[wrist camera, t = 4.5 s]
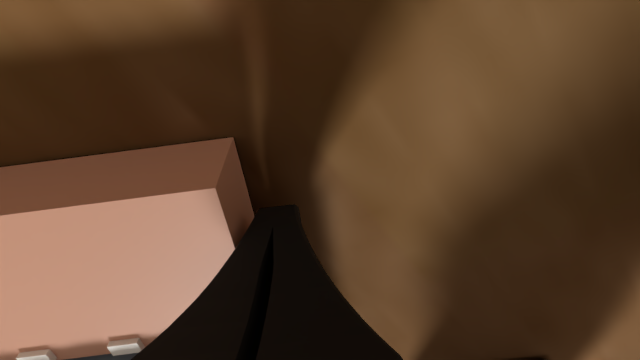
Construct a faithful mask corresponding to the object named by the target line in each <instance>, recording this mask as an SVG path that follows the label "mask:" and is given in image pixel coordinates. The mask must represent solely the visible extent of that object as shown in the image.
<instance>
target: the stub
mask: <svg viewBox="0 0 640 360" xmlns="http://www.w3.org/2000/svg"><path fill="white" fill-rule="evenodd" d="M254 217H255V216H254V213H253V209H252V205H251V202H250V198H249V194H248V190H247V187H246V183H245V179H244V175H243V172H242V168H241V164H240V160H239V157H238V153H237V149H236V146H235V142H234V138H233V137H231V138H223V139H215V140H207V141H200V142H192V143H184V144H176V145H169V146H161V147H153V148H145V149H138V150H130V151H122V152H115V153H107V154H99V155H91V156H84V157H76V158H68V159H60V160H53V161H45V162H37V163H29V164H22V165H14V166H6V167H0V360H64V359H72V358H80V357H88V356H96V355H104V354H112V355H113V356H116V355H124V354H132V353H139V352H140V351H141V350H143V349H144V348H145V347H146V346H147V345H149V344H150V343H151V342H152V341H153V340H154V339H156V338H157V337H158V336H159V335H160V334H161V333H162V332H163V331H165V330H166V329H167V328H168V327H169V326H170V325H171V324H172V323H173V322H174V321H175V320H176V319H177V318H178V317H179V316H180V315H181V314H182V313H183V312H184V311H185V310H186V309H187V308H188V307H189V306H190V305H191V304H192V303H193V302H194V301H195V300H196V298H197V297H198V296H199V295H200V294H201V293H202V292H203V290H204V289H205V288H206V287H207V286H208V285H209V283H210V282H211V281H212V280H213V278H214V277H215V276H216V275H217V273H218V272H219V271H220V269H221V268H222V266H223V265H224V264H225V262H226V261H227V260H228V258H229V257H230V255H231V254H232V253H233V251H234V250H235V248H236V246H237V245H238V243H239V242H240V240H241V239H242V237H243V236H244V234H245V232H246V231H247V229H248V227H249V226H250V224H251V222H252V220H253V219H254Z"/></svg>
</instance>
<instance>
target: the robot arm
mask: <svg viewBox="0 0 640 360" xmlns="http://www.w3.org/2000/svg"><path fill="white" fill-rule="evenodd" d="M131 360H403V359H402V358H401V356H400V355H399V354H398V353H397V352H396V351H395V350H394V349H393V348H392V347H390V346H389V345H388V344H387V343H386V342H385V341H384V340H383V339H382V338H381V337H380V336H379V335H378V334H377V333H376V332H375V331H374V330H373V329H372V328H371V327H370V326H369V325H368V324H367V323H366V322H365V321H364V320H363V319H362V318H361V317H360V315H359V314H358V313H357V312H356V311H355V310H354V308H353V307H352V306H351V305H350V304H349V303H348V301H347V300H346V299H345V298H344V297H343V295H342V294H341V293H340V292H339V290H338V289H337V288H336V286H335V285H334V283H333V282H332V281H331V279H330V278H329V276H328V275H327V273H326V272H325V270H324V269H323V267H322V265H321V264H320V262H319V260H318V259H317V257H316V255H315V253H314V251H313V250H312V248H311V246H310V243H309V241H308V239H307V237H306V235H305V232H304V230H303V227H302V224H301V219H300V213H299V208H298V206H296V205H295V204H293V205H285V206H277V207H269V208H261V209H259V210H258V211H257V213H256V215H255V217H254V219H253V220H252V222H251V224H250V226H249V227H248V229H247V231H246V232H245V234H244V236H243V237H242V239H241V240H240V242H239V243H238V245H237V246H236V248H235V250H234V251H233V253H232V254H231V255H230V257H229V258H228V260H227V261H226V262H225V264H224V265H223V266H222V268H221V269H220V271H219V272H218V273H217V275H216V276H215V277H214V278H213V280H212V281H211V282H210V283H209V285H208V286H207V287H206V288H205V289H204V290H203V292H202V293H201V294H200V295H199V296H198V297H197V298H196V300H195V301H194V302H193V303H192V304H191V305H190V306H189V307H188V308H187V309H186V310H185V311H184V312H183V313H182V314H181V315H180V316H179V317H178V318H177V319H176V320H175V321H174V322H173V323H172V324H171V325H170V326H169V327H168V328H167V329H166V330H165V331H163V332H162V333H161V334H160V335H159V336H158V337H157V338H156V339H154V340H153V341H152V342H151V343H150V344H149V345H147V346H146V347H145V348H144V349H143V350H141V351H140V352H139V353H138V354H137V355H136V356H134V357H133V358H132V359H131Z"/></svg>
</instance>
